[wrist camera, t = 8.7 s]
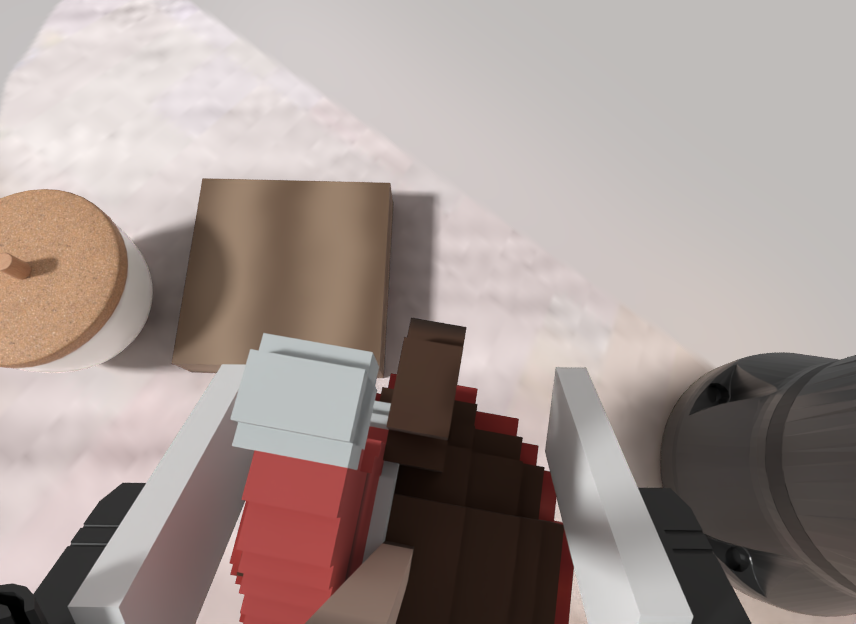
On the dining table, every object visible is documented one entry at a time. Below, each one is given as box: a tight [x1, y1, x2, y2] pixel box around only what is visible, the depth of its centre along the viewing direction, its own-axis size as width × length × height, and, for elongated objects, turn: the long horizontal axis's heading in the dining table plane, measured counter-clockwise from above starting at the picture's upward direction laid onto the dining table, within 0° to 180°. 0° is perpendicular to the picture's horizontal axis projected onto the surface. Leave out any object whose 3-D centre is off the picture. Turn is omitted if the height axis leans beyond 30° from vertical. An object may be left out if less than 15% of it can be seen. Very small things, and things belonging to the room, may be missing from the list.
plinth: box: [172, 178, 393, 378], centre depth 38 cm, size 13×13×3 cm
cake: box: [230, 318, 574, 624], centre depth 13 cm, size 11×9×18 cm
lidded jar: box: [0, 189, 153, 373], centre depth 34 cm, size 11×11×9 cm
